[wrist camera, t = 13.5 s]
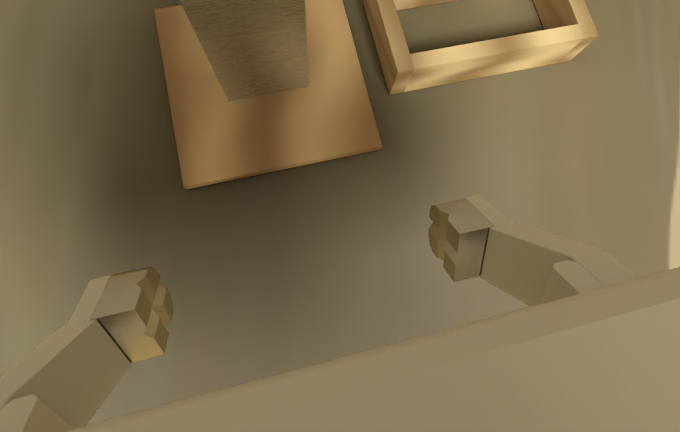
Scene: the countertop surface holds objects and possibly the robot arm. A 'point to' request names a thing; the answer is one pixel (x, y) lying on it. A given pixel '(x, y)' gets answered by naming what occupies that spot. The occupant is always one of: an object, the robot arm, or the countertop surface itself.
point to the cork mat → (266, 104)
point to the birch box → (476, 45)
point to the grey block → (252, 44)
